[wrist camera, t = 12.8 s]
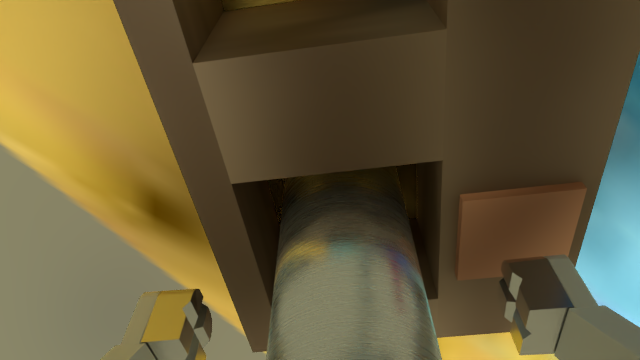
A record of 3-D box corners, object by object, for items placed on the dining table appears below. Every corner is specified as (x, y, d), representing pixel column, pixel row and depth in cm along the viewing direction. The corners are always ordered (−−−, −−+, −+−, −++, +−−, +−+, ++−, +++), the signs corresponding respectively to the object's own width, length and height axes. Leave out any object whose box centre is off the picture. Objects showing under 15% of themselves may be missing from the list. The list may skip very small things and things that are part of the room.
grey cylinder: (392, 115, 15) (457, 355, 8) (396, 204, 18) (449, 451, 10) (277, 129, 16) (239, 371, 8) (296, 214, 18) (280, 461, 11)
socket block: (653, -525, 8) (922, -829, 4) (516, 247, 19) (560, 335, 15) (57, -390, 9) (-118, -553, 5) (263, 270, 20) (251, 359, 16)
